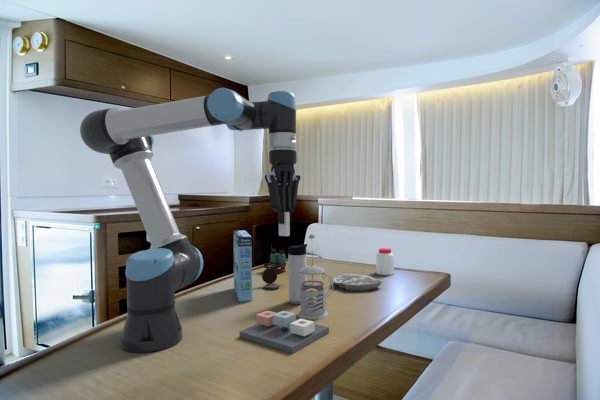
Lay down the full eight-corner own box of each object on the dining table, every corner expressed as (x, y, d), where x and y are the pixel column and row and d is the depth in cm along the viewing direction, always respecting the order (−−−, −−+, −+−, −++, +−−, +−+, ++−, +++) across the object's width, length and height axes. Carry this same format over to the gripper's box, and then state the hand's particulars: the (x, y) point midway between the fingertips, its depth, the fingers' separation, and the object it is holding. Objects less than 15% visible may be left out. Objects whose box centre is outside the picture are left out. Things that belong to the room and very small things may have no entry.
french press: (292, 311, 125) (291, 233, 124) (326, 307, 129) (325, 231, 128) (304, 321, 116) (302, 237, 115) (339, 316, 120) (338, 234, 119)
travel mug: (306, 305, 131) (305, 245, 131) (287, 304, 133) (286, 245, 132) (309, 299, 138) (308, 243, 137) (291, 298, 139) (290, 242, 138)
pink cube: (268, 332, 106) (268, 317, 106) (256, 329, 108) (256, 314, 108) (279, 327, 109) (279, 313, 109) (267, 324, 112) (267, 310, 112)
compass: (265, 291, 150) (265, 272, 150) (261, 286, 158) (261, 268, 157) (285, 289, 152) (285, 270, 152) (281, 284, 160) (281, 266, 160)
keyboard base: (292, 353, 94) (292, 347, 94) (239, 336, 104) (239, 331, 104) (329, 332, 106) (328, 327, 106) (278, 319, 117) (278, 314, 117)
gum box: (233, 288, 155) (232, 230, 154) (246, 287, 156) (245, 230, 155) (238, 302, 136) (237, 236, 135) (253, 301, 137) (252, 236, 136)
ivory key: (304, 342, 99) (304, 326, 98) (290, 338, 101) (290, 323, 101) (314, 336, 102) (314, 321, 102) (300, 333, 105) (300, 318, 105)
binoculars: (260, 252, 179) (272, 247, 188) (262, 274, 181) (274, 268, 189) (275, 254, 175) (288, 248, 183) (277, 277, 176) (289, 270, 184)
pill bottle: (373, 272, 180) (373, 248, 179) (388, 270, 182) (388, 247, 181) (381, 275, 172) (381, 250, 172) (397, 274, 175) (397, 249, 174)
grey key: (285, 333, 102) (285, 317, 102) (272, 329, 105) (272, 314, 105) (296, 328, 106) (296, 313, 106) (283, 324, 108) (283, 310, 108)
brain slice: (322, 286, 156) (322, 279, 156) (350, 279, 168) (350, 272, 168) (360, 296, 142) (360, 288, 142) (388, 287, 153) (388, 280, 153)
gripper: (277, 147, 100) (279, 239, 101) (307, 150, 110) (309, 233, 111) (256, 149, 104) (258, 237, 105) (287, 152, 115) (288, 232, 115)
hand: (284, 235), depth 108 cm, fingers closed
